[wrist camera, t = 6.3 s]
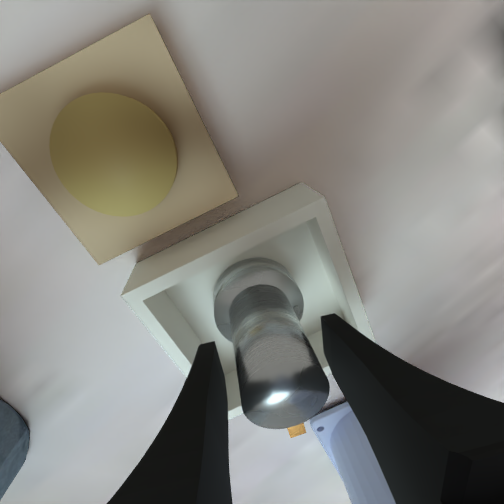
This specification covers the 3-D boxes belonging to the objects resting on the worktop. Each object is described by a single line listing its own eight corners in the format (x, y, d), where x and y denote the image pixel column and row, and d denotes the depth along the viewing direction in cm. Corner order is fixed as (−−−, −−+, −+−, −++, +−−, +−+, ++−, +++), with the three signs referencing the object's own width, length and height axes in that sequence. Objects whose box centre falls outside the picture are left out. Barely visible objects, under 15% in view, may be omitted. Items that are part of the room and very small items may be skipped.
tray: (353, 317, 18) (379, 351, 15) (219, 378, 19) (222, 422, 16) (302, 181, 14) (324, 196, 12) (135, 263, 15) (120, 296, 12)
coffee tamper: (285, 246, 15) (339, 325, 9) (302, 315, 17) (356, 418, 11) (201, 273, 15) (200, 371, 9) (227, 339, 17) (241, 457, 11)
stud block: (236, 191, 14) (240, 200, 12) (105, 256, 14) (93, 273, 13) (154, 22, 11) (145, 5, 9) (-8, 109, 11) (-44, 107, 10)
